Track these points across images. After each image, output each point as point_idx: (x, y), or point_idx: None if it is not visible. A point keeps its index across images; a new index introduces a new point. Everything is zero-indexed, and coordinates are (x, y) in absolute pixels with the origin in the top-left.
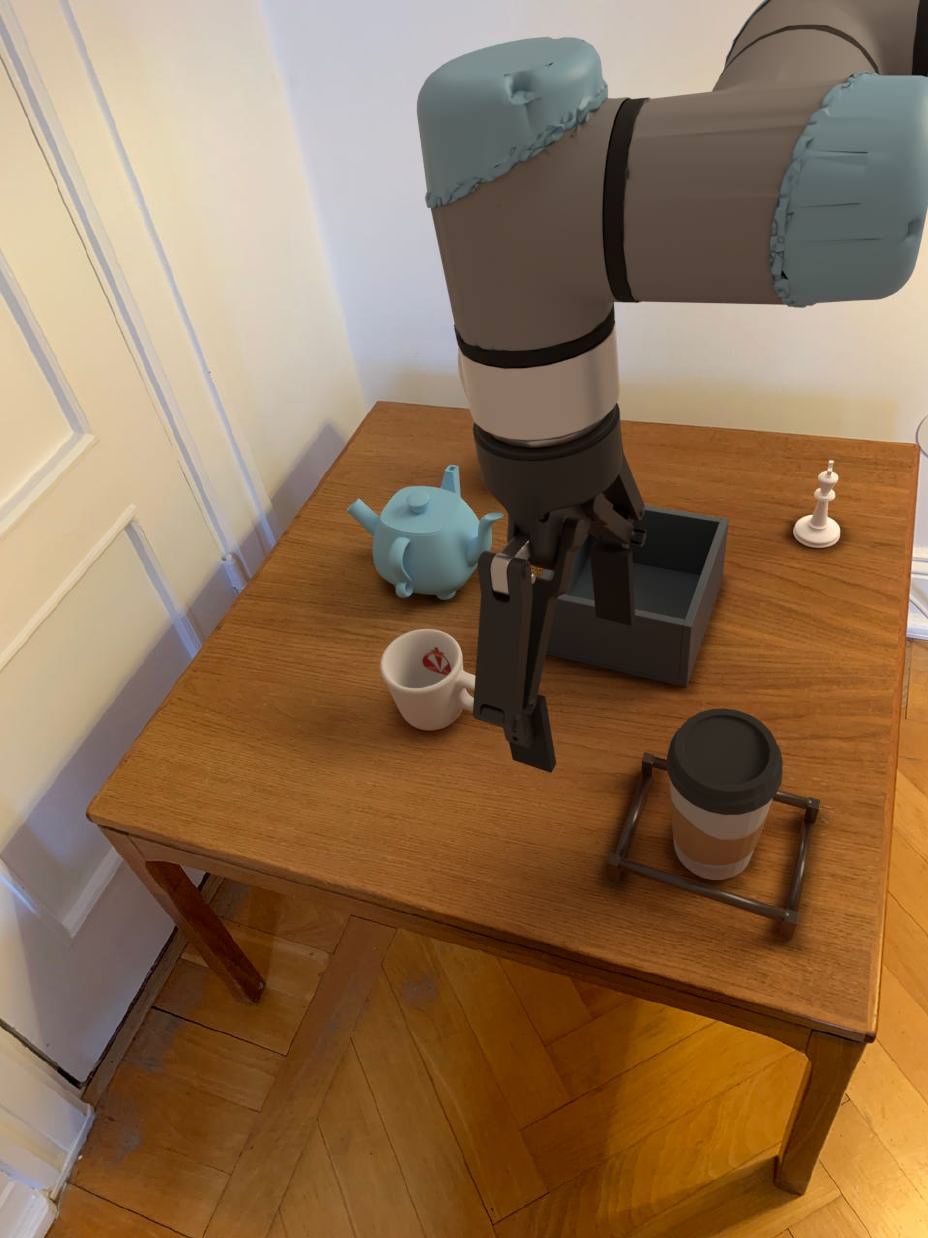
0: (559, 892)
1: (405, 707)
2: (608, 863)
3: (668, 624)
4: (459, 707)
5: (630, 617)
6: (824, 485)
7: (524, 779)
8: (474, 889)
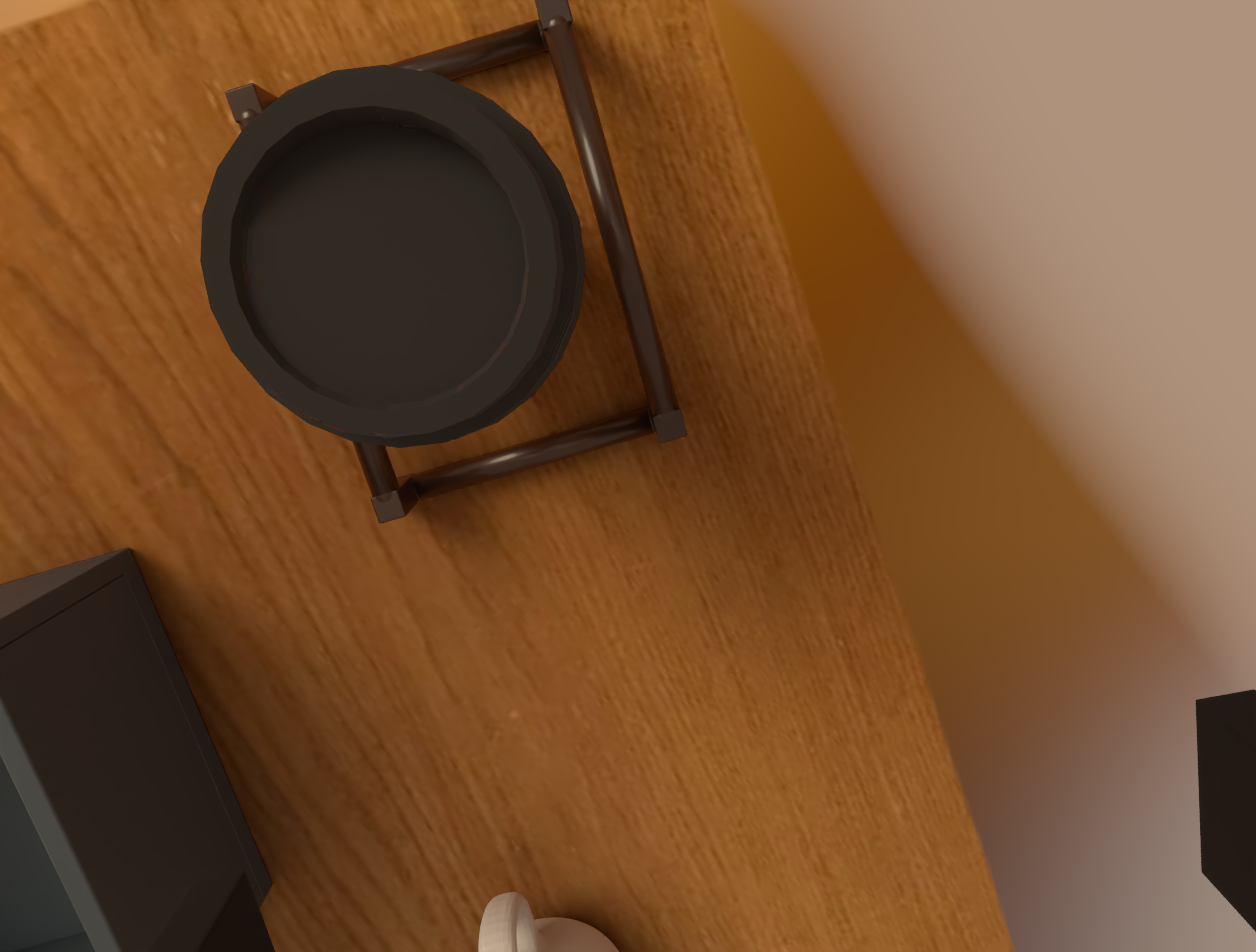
0: (762, 486)
1: None
2: (685, 430)
3: (7, 694)
4: (542, 940)
5: (218, 917)
6: None
7: (582, 703)
8: (857, 630)
